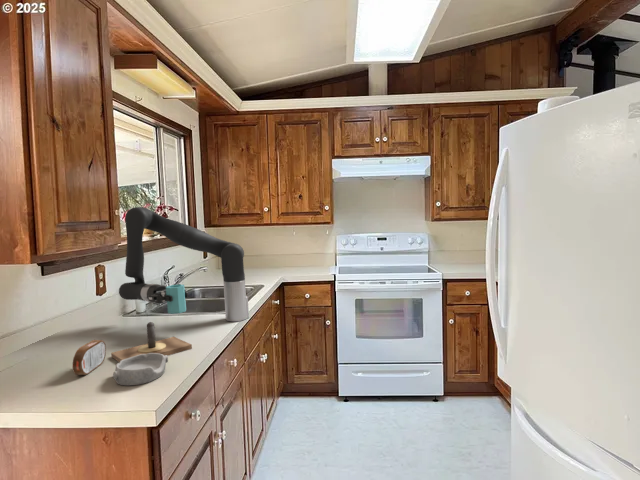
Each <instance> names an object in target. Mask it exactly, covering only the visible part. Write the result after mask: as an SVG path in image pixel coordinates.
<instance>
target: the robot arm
mask: <svg viewBox="0 0 640 480" xmlns="http://www.w3.org/2000/svg"><path fill="white" fill-rule="evenodd" d="M124 219H125V220H124V221H125V230H126V231H125V232H126V259H125V260H126V261H125V269H124V272H125V273H124V274H125V276H126V277H127V278H132V279H134V281H131V282H124V283H122V284H121V285H120V286H119V288H118V295H119V296H120V297H121V298H122V299H123V300H128V301H131V300H132V301H133V300H134V301H135V300H140V301H145V302H148V303H153V304H158V305H159V304H161V305H162V304H163V303H165V302H167V301H169V302H171V301H173V298H172V296H170V295H166V287H167V285H164V284H160V283H159V284H157V283H145V276H144V265H145V253H144V247H143V236H144V233H145V230H149V231H152V232H154V233H157V234H159V235H163V236H164V237H165V238H167V239H168V240H169V241H171V242H173V243H175V244H177V245H179V246H182V247H184V248H187V249H189V250H190V249H191V250H193V251H198V252H203V253H208V254H211V255H214V256H216V257H219V258H220V261H221V273H222V277H223V295H224V297H223V298H224V310H225V321H228V322H240V321H245V320H246V319H248V318H249V319H250V313H249V296H247V294H246V293H247V291H246V277H245V276H246V275H245V267H244V257H245V250H244V248H243V247H242V246H241V245H240V244H238V243H235V242H231V241H227V240H223V239H220V238H217V237H215V236H213V235H212V234H209V233H207V232H205V231H203V230H201V229H198V228H196V227H194V226H190V225H188V224H185V223H183V222H179V221H177V220H173V219H171V218H167V217H164V216H162V215H161V214H159V213H156V212H155V211H153V210H150V209H148V208H147V207H144V206H137V207H131V208H130V209H128V210H127V212H126V213H125V218H124ZM186 298H189V292H188V291H186V289H185V299H186Z"/></svg>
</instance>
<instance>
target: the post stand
mask: <svg viewBox="0 0 640 480" xmlns="http://www.w3.org/2000/svg"><path fill="white" fill-rule="evenodd" d="M155 331H156V330H155V323H154V322H151V321H150V322H147V324H146V335H147V343H144V344H140V345H136V346H132V347H129V348H124V349H121V350H116V351H113V352H110V354H111V358H112V359H114V360H115V361H117V362H118V363H120V361H121V360H124V359H127V358H130V357H133V356H137V355H140V354H147V353H159V354H163V355H164V356H165V355H167V356H171V355H175V354H178V353H182V352H184V351H188V350H192V348H193V345H192V344H191V343H190V342H187V341H185V340H183V339H180V338H178V337H175V336H171V337H167V338H163V339H160V340H156V332H155Z"/></svg>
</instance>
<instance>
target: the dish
mask: <svg viewBox="0 0 640 480" xmlns="http://www.w3.org/2000/svg"><path fill="white" fill-rule="evenodd" d="M168 356H169V355H168ZM168 356H167V355H165V356H164V355H163V354H159V353H147V354H140V355H137V356H133V357H130V358H127V359H124V360H121V361H120V363H119V362H118V363H116V364H115V371H114V372H113V374H112V378H113V379H114V380H115V382H116V383H117V384H118V385H120V386H139V385H143V384H148V383H150V382H153V381H155V380H157V379H158V378H160V377H161V376H163V375H164V373H165V371H166V364H168V363H169V357H168Z"/></svg>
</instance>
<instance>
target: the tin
mask: <svg viewBox="0 0 640 480" xmlns="http://www.w3.org/2000/svg"><path fill="white" fill-rule="evenodd" d="M106 351H107V348H106V342H105V341H104V340H102V339H101V340H100V339H94V340H93V339H91V341H89V342H87V343H86V344H84V345H82V346H80V347H79V348H78V349H77V350H76V351H75V353H74V356H73V359H72V371H73V374H75V375H76V376H86V375H88V374H90V373H92V372H93V371H95V370H96V369H98V367H100V366H101V365H102V364H103V363H104V362H105V359H106V354H107V353H106Z"/></svg>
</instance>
